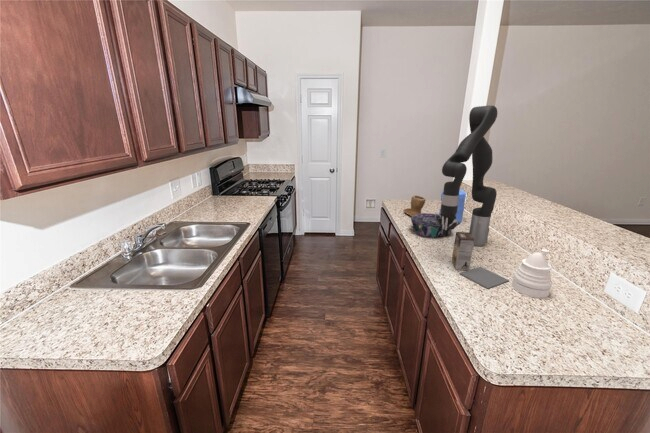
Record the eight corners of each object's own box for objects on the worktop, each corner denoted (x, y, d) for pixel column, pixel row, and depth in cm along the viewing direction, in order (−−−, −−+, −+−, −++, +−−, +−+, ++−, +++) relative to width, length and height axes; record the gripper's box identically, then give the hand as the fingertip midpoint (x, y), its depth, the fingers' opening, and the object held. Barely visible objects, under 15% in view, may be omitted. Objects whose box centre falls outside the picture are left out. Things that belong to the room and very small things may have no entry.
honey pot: (542, 283, 121) (552, 245, 116) (554, 300, 110) (566, 259, 104) (508, 278, 125) (516, 241, 120) (516, 294, 114) (525, 254, 108)
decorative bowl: (460, 235, 179) (463, 220, 177) (436, 243, 163) (439, 226, 160) (424, 224, 199) (427, 211, 196) (400, 230, 182) (402, 216, 179)
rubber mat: (480, 267, 135) (480, 266, 135) (509, 281, 123) (509, 280, 123) (459, 274, 130) (459, 272, 129) (487, 289, 117) (487, 288, 117)
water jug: (463, 219, 203) (469, 180, 195) (460, 225, 191) (466, 184, 182) (440, 215, 211) (445, 178, 203) (436, 221, 199) (440, 182, 190)
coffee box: (451, 261, 142) (455, 231, 137) (464, 262, 141) (469, 232, 136) (455, 269, 133) (460, 238, 128) (469, 271, 132) (475, 239, 127)
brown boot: (426, 217, 207) (428, 197, 203) (411, 218, 205) (413, 198, 201) (416, 211, 222) (418, 193, 217) (402, 212, 220) (404, 194, 215)
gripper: (466, 205, 133) (461, 239, 139) (444, 199, 145) (440, 230, 150) (455, 207, 130) (450, 242, 136) (433, 201, 142) (430, 233, 147)
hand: (445, 236), depth 143 cm, fingers closed
